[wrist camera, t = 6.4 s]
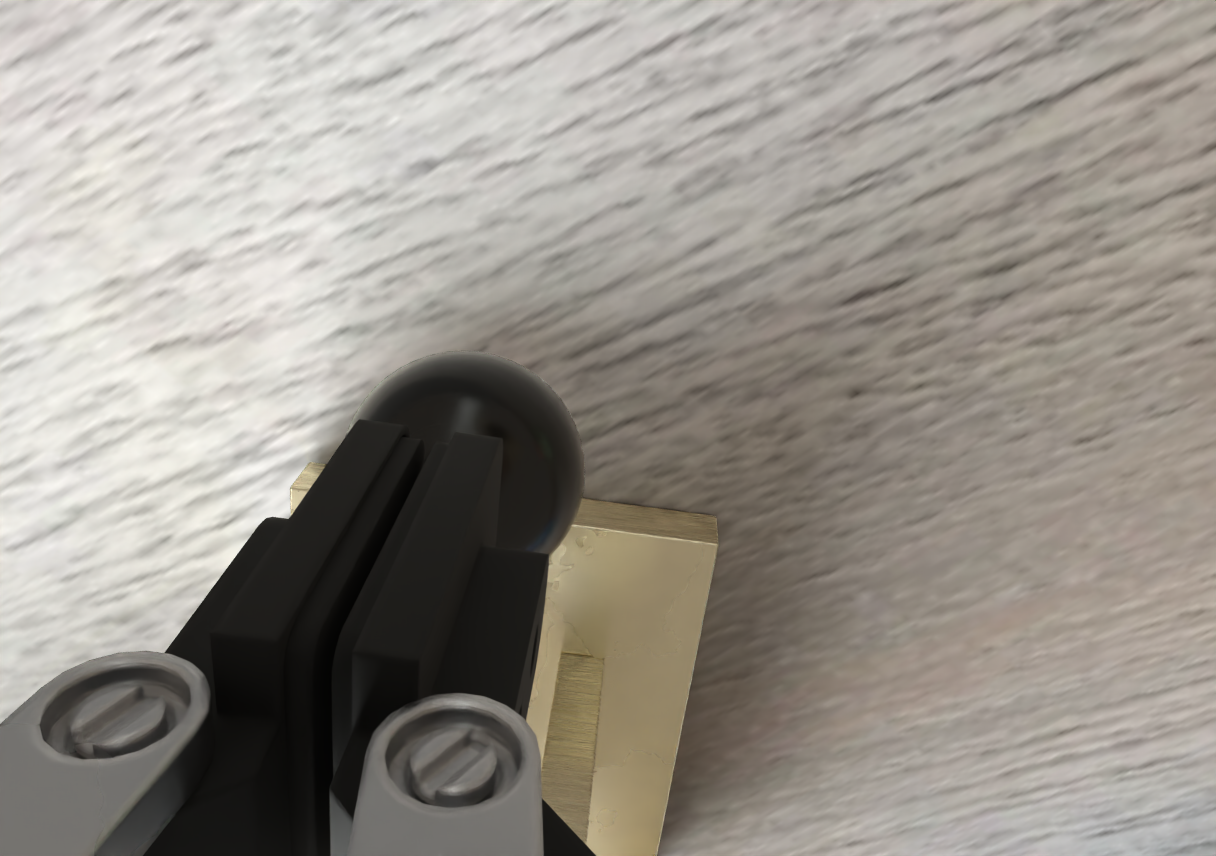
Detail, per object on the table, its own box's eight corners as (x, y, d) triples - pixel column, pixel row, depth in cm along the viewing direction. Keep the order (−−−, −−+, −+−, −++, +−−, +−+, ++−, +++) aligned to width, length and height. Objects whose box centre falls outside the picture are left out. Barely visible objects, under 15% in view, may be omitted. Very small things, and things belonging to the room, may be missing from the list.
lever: (388, 338, 15) (320, 331, 12) (602, 366, 15) (597, 368, 12) (299, 1116, 16) (212, 1320, 13) (499, 1143, 16) (466, 1356, 13)
